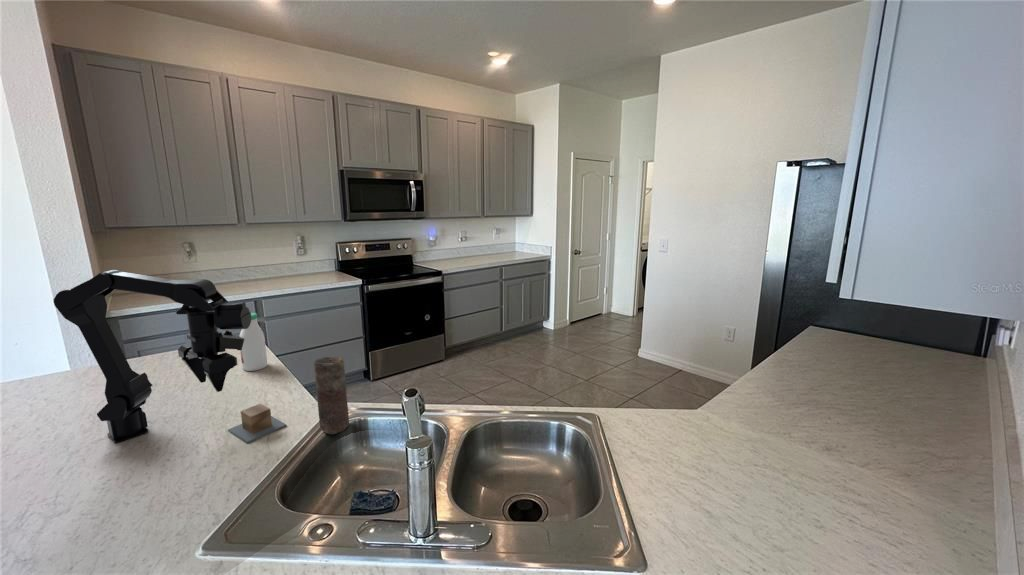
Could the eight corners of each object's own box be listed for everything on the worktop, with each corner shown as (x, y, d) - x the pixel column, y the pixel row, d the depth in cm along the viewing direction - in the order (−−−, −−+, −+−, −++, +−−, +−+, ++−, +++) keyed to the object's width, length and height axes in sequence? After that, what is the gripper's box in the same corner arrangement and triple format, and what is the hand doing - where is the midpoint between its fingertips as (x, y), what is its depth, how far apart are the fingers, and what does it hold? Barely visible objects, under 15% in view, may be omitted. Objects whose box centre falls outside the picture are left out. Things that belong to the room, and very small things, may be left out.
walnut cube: (252, 434, 106) (250, 416, 105) (242, 428, 109) (240, 411, 108) (272, 425, 111) (270, 408, 110) (262, 420, 113) (260, 403, 112)
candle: (313, 429, 110) (307, 360, 106) (336, 417, 116) (331, 351, 112) (332, 438, 107) (327, 366, 102) (355, 425, 113) (351, 356, 109)
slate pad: (247, 443, 103) (247, 441, 103) (228, 431, 108) (227, 429, 108) (286, 426, 111) (286, 424, 111) (267, 415, 117) (266, 413, 117)
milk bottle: (272, 363, 152) (267, 311, 147) (257, 372, 144) (251, 317, 140) (252, 362, 152) (247, 310, 148) (237, 370, 145) (230, 316, 141)
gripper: (256, 328, 106) (262, 384, 109) (221, 316, 115) (228, 368, 119) (206, 340, 96) (214, 401, 100) (173, 325, 106) (181, 381, 109)
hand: (211, 386), depth 107 cm, fingers open, 9 cm apart
